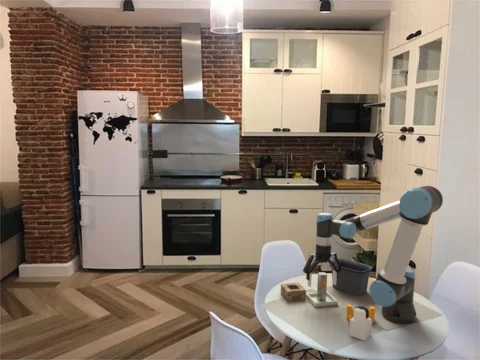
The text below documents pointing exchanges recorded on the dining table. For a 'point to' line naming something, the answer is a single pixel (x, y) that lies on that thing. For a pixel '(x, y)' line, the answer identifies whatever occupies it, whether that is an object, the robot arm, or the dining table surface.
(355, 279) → the storage bin
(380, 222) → the robot arm
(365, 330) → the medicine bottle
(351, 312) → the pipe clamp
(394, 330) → the dining table surface
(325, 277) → the grey wooden beam
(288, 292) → the hollow wooden square
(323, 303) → the tray
